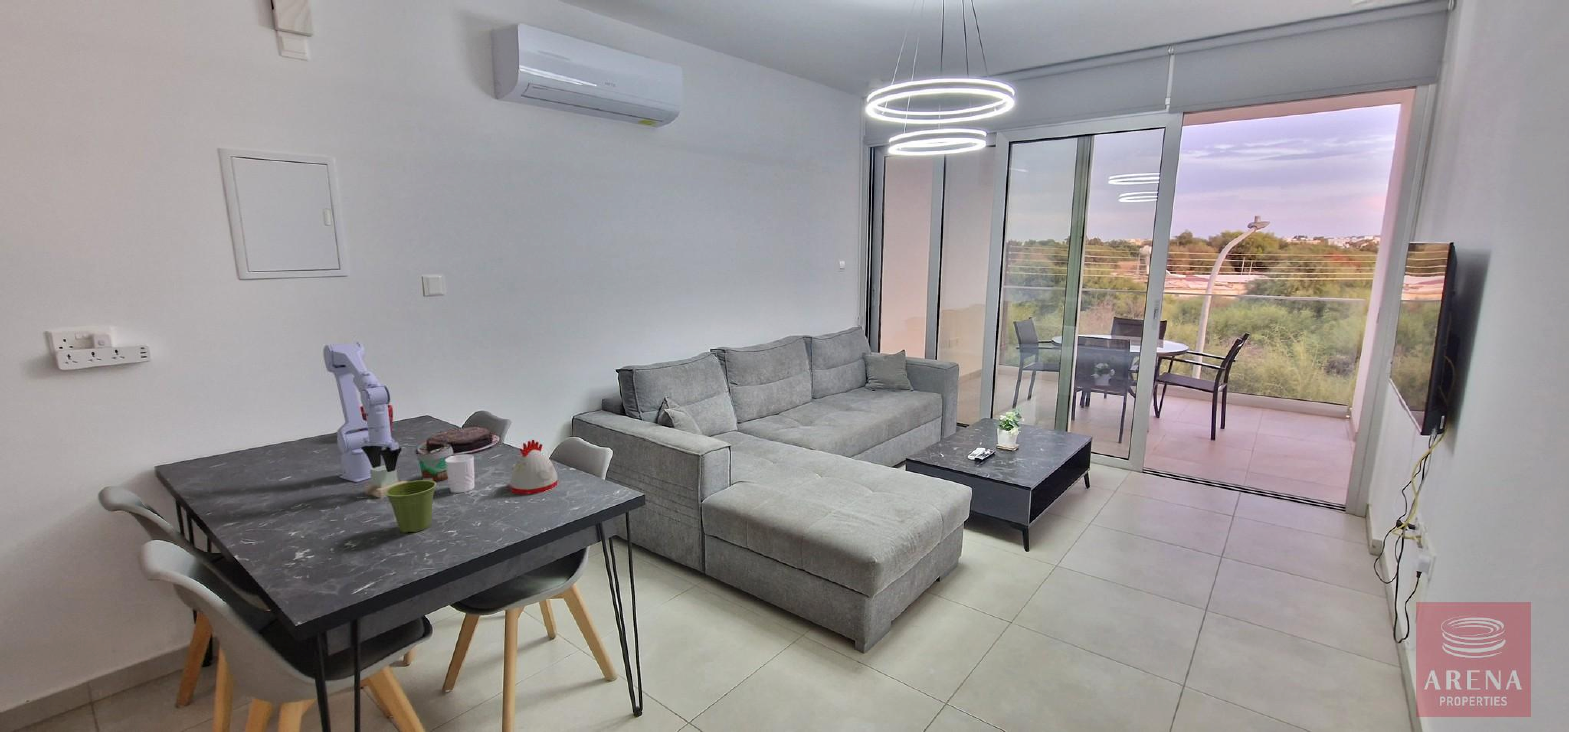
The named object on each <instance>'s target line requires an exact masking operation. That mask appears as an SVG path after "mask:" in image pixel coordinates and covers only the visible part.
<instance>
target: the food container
mask: <svg viewBox="0 0 1569 732" xmlns="http://www.w3.org/2000/svg"><path fill="white" fill-rule="evenodd" d="M452 453H453V449H452V447H451V446H450V445H449V444H444V447H441V448H439V449H435V450H431V451H430V452H428V453H426V454H420V453H418V454H417V461H418V462H419V467H420V471H421V472H420V473H421V477H422V480H429V481H434V482H436V483H439V482H444V481H447V480H448V476H447V470H446V463H445V459H447V458H449V457H451V454H452Z"/></svg>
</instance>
